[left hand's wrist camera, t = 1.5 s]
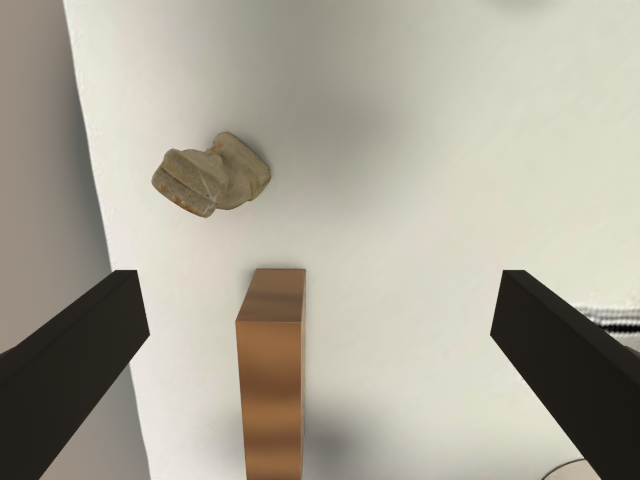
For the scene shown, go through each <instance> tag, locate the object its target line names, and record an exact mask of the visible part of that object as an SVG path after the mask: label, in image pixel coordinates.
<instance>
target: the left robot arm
mask: <svg viewBox="0 0 640 480" xmlns="http://www.w3.org/2000/svg"><path fill="white" fill-rule="evenodd" d="M149 336H150V332H149V328H148V323H147V318H146V313H145V308H144V303H143V298H142V293H141V288H140V283H139V278H138V273H137V270H115V271H114V272H112V273H111V274H110V275H108V276H107V277H106V278H105V279H103V280H102V281H101V282H99V283H98V284H97V285H95V286H94V287H93V288H91V289H90V290H89V291H87V292H86V293H85V294H84V295H82V296H81V297H80V298H78V299H77V300H76V301H74V302H73V303H72V304H70V305H69V306H68V307H67V308H65V309H64V310H63V311H61V312H60V313H59V314H57V315H56V316H55V317H53V318H52V319H51V320H50V321H48V322H47V323H46V324H44V325H43V326H42V327H40V328H39V329H38V330H36V331H35V332H34V333H33V334H31V335H30V336H29V337H27V338H26V339H25V340H23V341H22V342H21V343H19V344H18V345H17V346H16V347H13V348H11V349H9V350H7V351H5V352H4V353H2V354H0V480H39V479H40V477H41V476H42V475H43V473H44V472H45V471H46V470H47V468H48V467H49V466H50V464H51V463H52V462H53V461H54V459H55V458H56V457H57V455H58V454H59V453H60V451H61V450H62V449H63V448H64V446H65V445H66V444H67V442H68V441H69V440H70V438H71V437H72V436H73V434H74V433H75V432H76V431H77V429H78V428H79V427H80V425H81V424H82V423H83V421H84V420H85V419H86V418H87V416H88V415H89V414H90V412H91V411H92V410H93V408H94V407H95V406H96V405H97V403H98V402H99V401H100V399H101V398H102V397H103V395H104V394H105V393H106V392H107V390H108V389H109V388H110V386H111V385H112V384H113V382H114V381H115V380H116V379H117V377H118V376H119V375H120V373H121V372H122V371H123V369H124V368H125V367H126V366H127V364H128V363H129V362H130V360H131V359H132V358H133V356H134V355H135V354H136V353H137V351H138V350H139V349H140V347H141V346H142V345H143V343H144V342H145V341H146V340H147V338H148V337H149ZM490 336H491V337H492V338H493V340H494V341H495V342H496V343H497V345H498V346H499V347H500V349H501V350H502V351H503V353H504V354H505V355H506V356H507V358H508V359H509V360H510V362H511V363H512V364H513V366H514V367H515V368H516V369H517V371H518V372H519V373H520V375H521V376H522V377H523V379H524V380H525V381H526V382H527V384H528V385H529V386H530V388H531V389H532V390H533V392H534V393H535V394H536V395H537V397H538V398H539V399H540V401H541V402H542V403H543V405H544V406H545V407H546V408H547V410H548V411H549V412H550V414H551V415H552V416H553V418H554V419H555V420H556V421H557V423H558V424H559V425H560V427H561V428H562V429H563V431H564V432H565V433H566V435H567V436H568V437H569V438H570V440H571V441H572V442H573V444H574V445H575V446H576V448H577V449H578V450H579V451H580V453H581V454H582V455H583V457H584V458H585V459H586V461H587V462H588V463H589V464H590V466H591V467H592V468H593V470H594V471H595V472H596V474H597V475H598V476H599V477H600V479H601V480H640V353H639V352H638V351H636V350H634V349H632V348H630V347H628V346H623V345H622V344H621V343H619V342H618V341H617V340H615V339H614V338H613V337H611V336H610V335H609V334H607V333H606V332H605V331H604V330H602V329H601V328H600V327H598V326H597V325H596V324H594V323H593V322H592V321H590V320H589V319H588V318H587V317H585V316H584V315H583V314H581V313H580V312H579V311H577V310H576V309H575V308H573V307H572V306H571V305H570V304H568V303H567V302H566V301H564V300H563V299H562V298H560V297H559V296H558V295H556V294H555V293H554V292H553V291H551V290H550V289H549V288H547V287H546V286H545V285H543V284H542V283H541V282H539V281H538V280H537V279H536V278H534V277H533V276H532V275H530V274H529V273H528V272H526V271H525V270H503V273H502V278H501V283H500V288H499V293H498V298H497V303H496V308H495V313H494V318H493V323H492V328H491V332H490Z"/></svg>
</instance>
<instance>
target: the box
mask: <svg viewBox="0 0 640 480" xmlns="http://www.w3.org/2000/svg"><path fill="white" fill-rule="evenodd" d="M305 291H306V270H297V269H256V272H255V274H254V277H253V279H252V282H251V284H250V287H249V289H248V291H247V294H246V296H245V299H244V301H243V304H242V306H241V309H240V311H239V314H238V316H237V319H236V321H235V323H236V337H237V351H238V365H239V379H240V393H241V406H242V420H243V434H244V448H245V462H246V476H247V480H302V472H303V450H304V413H305Z"/></svg>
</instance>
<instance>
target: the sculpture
mask: <svg viewBox="0 0 640 480" xmlns="http://www.w3.org/2000/svg"><path fill="white" fill-rule="evenodd" d="M213 143H214V147H213V149H207V150H206V152H201V151H197V150H193V149H188V150H184V151H179V150H176V149H170V150H169V151H168V152H167V153H166V154H165V156H164V159H163V162H162V163H161V165H160V166H159V168H158V169H157V170H156V172H155V173H154V175H153V177H152V185H153V186H154V187H155V189H157V190H158V191H159V192H160V193H161V194H162V195H164V196H165V197H166V198H168V199H169V200H170V201H172V202H174V203H175V204H177V205H178V206H180V207H181V208H183V209H185V210H187V211H189V212H191V213H193V214H195V215H198V216H200V217H204V218H207V217H209V216H211V214H212V213H213V212H214V210H215V209H224V210H230V209H234V208H236V207H238V206H240V205H242V204H243V203H245V202H246V201H252V200H254V199H255V198H256V197H257V196H258V195H259V194H260V193H261V192H262V191H263V189H264V188H265V187H266V185H267V184H268V183H269V181H270V179H271V176H270V174H269V168H268V167H267V166H266V165H265V164H264V163H262V162H261V161H260V160H259V159H258V157H257V156H256V155H255V154H254V153H253V152H252V151H251V150H250V149H248V148H247V147H246V146H245V145H244V144H243V143H241V142H240V141H239V140H238V139H236V138H235V137H233V136H232V135H231V134H229V133H227V132H222V133H220V134H219V135H218V136H217V137H216V138H215V139H214V142H213Z"/></svg>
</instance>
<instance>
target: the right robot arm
mask: <svg viewBox="0 0 640 480" xmlns="http://www.w3.org/2000/svg"><path fill="white" fill-rule="evenodd" d="M544 480H601V479H600V477H599V476H598V475H597V474H596V472H595V471H594V470H593V468H592V467H591V466H590V464H589V463H588V462H587V461H586V460H582V461H577V462H573V463H570V464H567V465H565V466H563V467H561V468H559V469H557V470H555V471H554V472H552V473H551V474H550V475H548V476H547V477H546V478H545V479H544Z"/></svg>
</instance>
